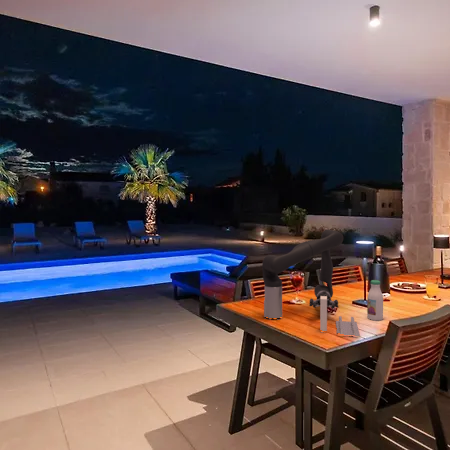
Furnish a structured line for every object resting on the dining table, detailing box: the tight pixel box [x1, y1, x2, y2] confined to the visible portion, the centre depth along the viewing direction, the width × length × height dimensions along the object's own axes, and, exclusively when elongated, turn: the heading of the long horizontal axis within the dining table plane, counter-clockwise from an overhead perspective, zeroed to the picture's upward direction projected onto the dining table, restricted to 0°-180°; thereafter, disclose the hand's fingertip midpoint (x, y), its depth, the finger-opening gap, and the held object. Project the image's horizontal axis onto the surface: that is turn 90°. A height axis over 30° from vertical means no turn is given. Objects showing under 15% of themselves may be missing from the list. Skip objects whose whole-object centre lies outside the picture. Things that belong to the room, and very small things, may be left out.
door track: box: [335, 315, 361, 337], centre depth 192 cm, size 10×20×4 cm, turn 166°
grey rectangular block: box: [319, 296, 328, 332], centre depth 191 cm, size 3×6×16 cm, turn 166°
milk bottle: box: [366, 279, 384, 321], centre depth 208 cm, size 8×8×20 cm
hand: (323, 306), depth 201 cm, fingers open, 8 cm apart
